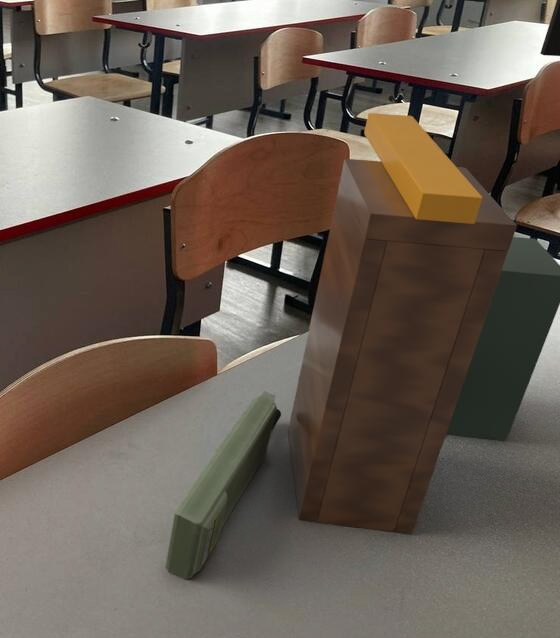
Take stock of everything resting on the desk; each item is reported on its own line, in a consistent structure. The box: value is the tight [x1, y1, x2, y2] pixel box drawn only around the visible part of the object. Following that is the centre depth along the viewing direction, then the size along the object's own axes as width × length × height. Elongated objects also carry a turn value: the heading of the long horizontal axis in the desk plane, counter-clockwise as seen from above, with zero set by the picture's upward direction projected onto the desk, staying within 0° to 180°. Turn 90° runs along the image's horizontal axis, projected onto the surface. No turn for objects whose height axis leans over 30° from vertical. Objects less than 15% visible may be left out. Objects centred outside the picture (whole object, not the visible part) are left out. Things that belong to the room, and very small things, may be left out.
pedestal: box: [446, 236, 560, 442], centre depth 80 cm, size 10×9×20 cm
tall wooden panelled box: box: [287, 158, 518, 535], centre depth 67 cm, size 10×13×30 cm
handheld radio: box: [165, 391, 282, 580], centre depth 71 cm, size 7×3×25 cm
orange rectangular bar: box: [363, 112, 482, 224], centre depth 62 cm, size 4×22×2 cm, turn 171°
